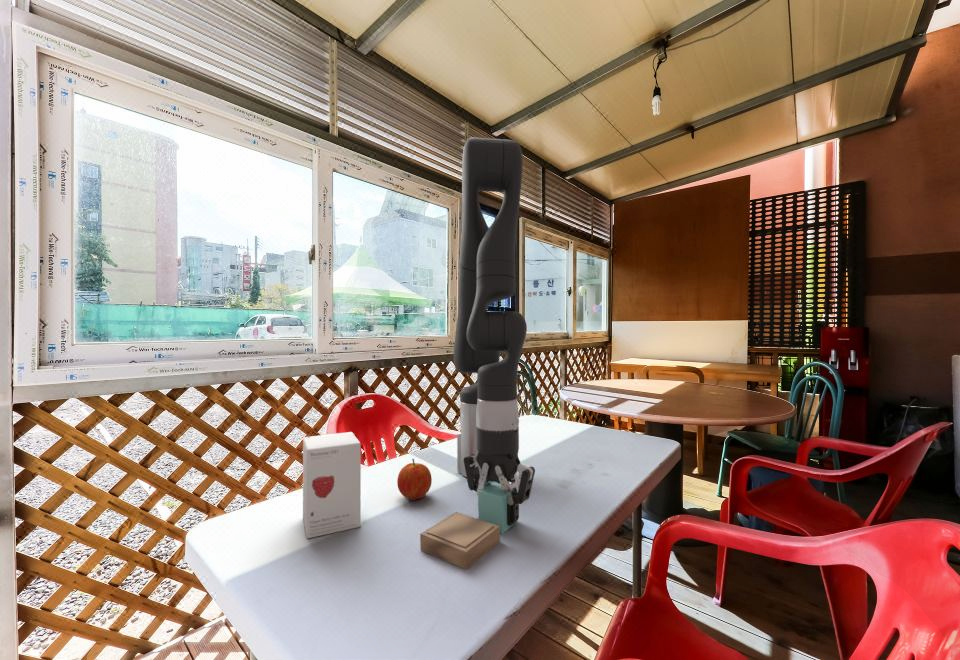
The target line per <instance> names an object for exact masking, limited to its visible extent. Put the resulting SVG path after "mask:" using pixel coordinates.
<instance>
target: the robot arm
mask: <svg viewBox="0 0 960 660" xmlns="http://www.w3.org/2000/svg"><path fill="white" fill-rule="evenodd" d="M523 165H524V163H523V151H522V147H521V145H520V143H518V141H516V140H512V139H505V138H503V139H501V138H488V137H470V138H468V139H467V140H466V141H465V143H464V147H463V151H462V162H461V181H462V182H461V195H462V196H461V199H462V200H461V202H462V203H461V204H462V205H461V208H462V209H461V212H462V214H461V215H462V216H461V219H462V221H461V237H460V248H459V249H460V250H459V259H458V261H459V263H458V283H457V284H458V289H457V291H458V293H457V295H458V298H457V299H458V300H457V302H458V303H457V316H456V317H457V318H456V319H457V320H456V325H455V335H454V343H453V366H454V368H455V369H456V371H457V372H459V373H461V374H477V375H476V376H477V378H476V380H477V382H474V383H473V384H470V385H468V386H465V387H464V388H462V389H461V390H460V394H459V399H460V400H459V401H460V402H459V403H460V405H459V406H460V407H459V408H460V411H459V415H460V431H458V432H457V435H456V437H457V438H456V444H457V445H456V446H457V447H456V452H457V456H456V458H457V459H456V460H457V466H456V469H457V473H459V474H461V475H462V476H463V477H465V478H466V480H467V485H468V488H469V490H470V491H474V492H475V493H476V495H477V496H478V491H479V490H481V489H485V487H486V486H488V485H491V484H492V483H493V482H496V483H499V484H501V488H502V491H503V492H505V495H506V496H507V502H508V504H507V525H509V526H511V527H513V526H514V525H516V523H517V522H516V521H518V522H519V518H520V506H519V505H523V503H524V502H526V501H527V500H529V499H530V498H531V497H530V496H531V492H532V486H533V482H534V479H535V478H534V477H535V474H536V469H535V467H534V466H531V465H530V466H529V467H527V466H526V465H523V464H522V463H521V460H520V457H519V449H520V432H519V431H520V426H519V424H520V419H519V417H520V415H519V405H518V404H519V403H518V384H517V383H518V370H519V369H518V368H519V364H520V357H521V355H522V350H523V347H524V343H525V339H526V335H527V331H528V329H527V328H528V327H527V321H526V319H525V317H524V316H523V315H522V314H521V313H520V312H518V311H514V310H513V311H512V310H511V311H510V310H509V311H506V310H504V311H496V310H495V311H487V310H488V308H489V306H490V305H491V304H493V303H496V302H499V301H504V300H507V299H510V298H513V296H514V295H515V293H516V241H517V239H516V238H517V231H518V221H519V213H520V211H519V210H520V204H521V203H520V202H521V201H520V200H521V191H522V183H523V182H522V181H523V168H524V167H523ZM479 192H492V193H494V192H495V193H503V196H502V197H503V198H502V203H501V206H500V209H499V212H498V214H497V215H496V217H495V219H494V220H493V222H492V223H491V225H490V227H489V226H488V224H487V222H486V220H485V217H484V214H483V212H482V211H483V210H482V209H481V205H480V202H479V201H480V200H479ZM503 351H505V352H506V354H505V356H504V358H503V359H501V358H500V357H501V356H500V352H503ZM500 359H501V360H500ZM517 472H518V479H519V480H520V481H519V483H518V479H517V476H516V474H517ZM518 485H519V486H518ZM477 510H478V511H479V509H477ZM513 524H514V525H513ZM512 525H513V526H512Z"/></svg>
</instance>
